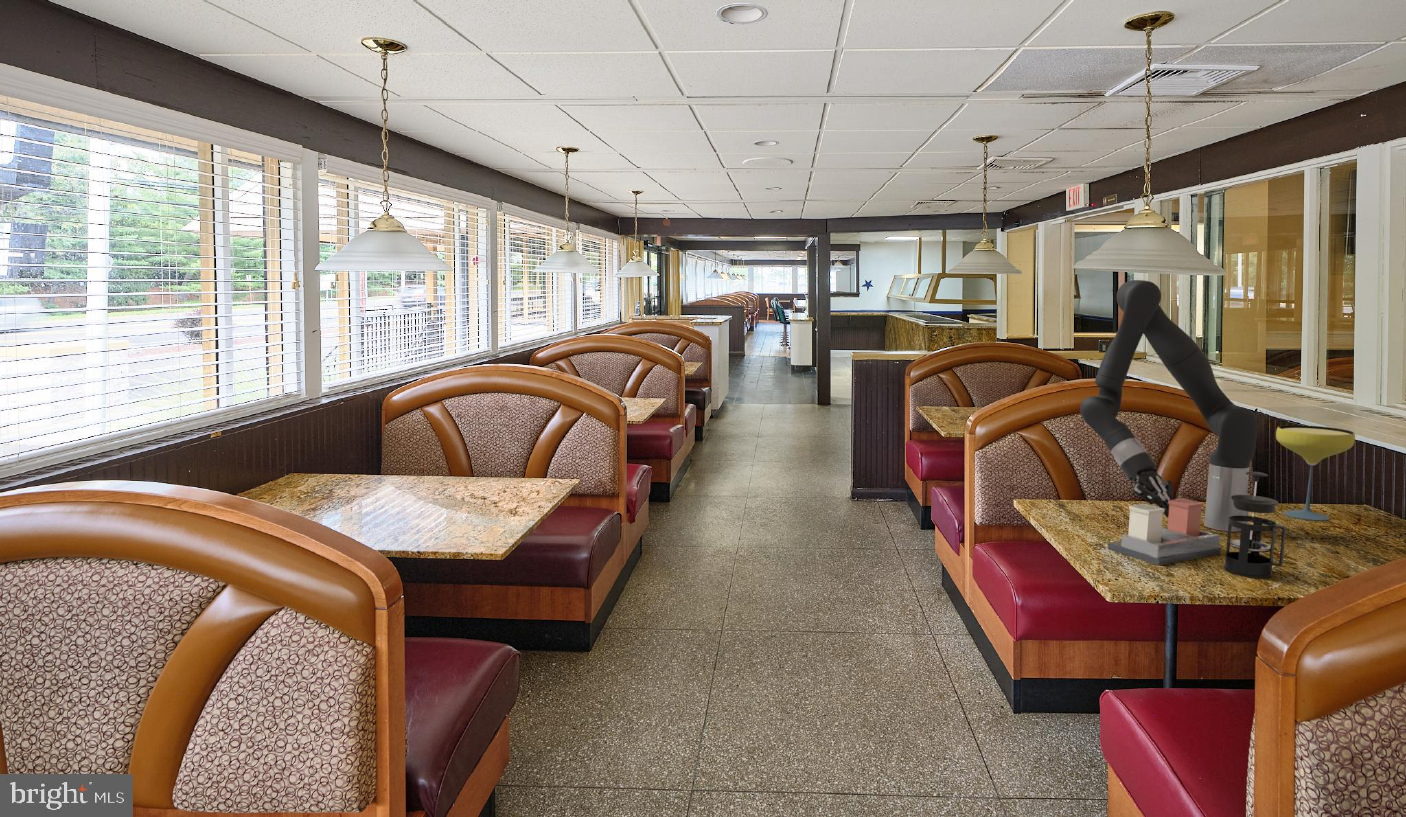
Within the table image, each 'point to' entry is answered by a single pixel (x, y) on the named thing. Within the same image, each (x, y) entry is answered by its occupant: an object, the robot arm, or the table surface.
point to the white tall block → (1146, 522)
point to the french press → (1253, 536)
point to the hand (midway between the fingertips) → (1172, 515)
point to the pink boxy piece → (1185, 516)
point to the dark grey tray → (1169, 547)
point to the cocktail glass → (1313, 453)
